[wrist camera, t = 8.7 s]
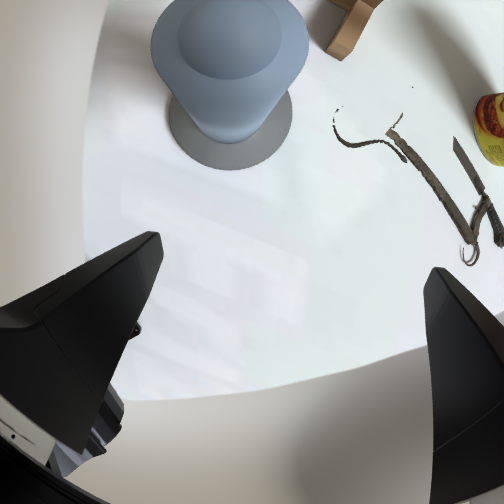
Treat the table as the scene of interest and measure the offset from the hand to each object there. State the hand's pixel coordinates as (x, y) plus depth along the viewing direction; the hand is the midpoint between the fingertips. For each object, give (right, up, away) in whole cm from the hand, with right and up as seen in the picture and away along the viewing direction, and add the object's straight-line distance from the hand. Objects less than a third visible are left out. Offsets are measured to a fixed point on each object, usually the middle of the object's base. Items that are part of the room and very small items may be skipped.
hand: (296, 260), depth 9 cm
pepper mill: (-3, +10, +11) cm, 15 cm away
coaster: (-3, +11, +11) cm, 16 cm away
